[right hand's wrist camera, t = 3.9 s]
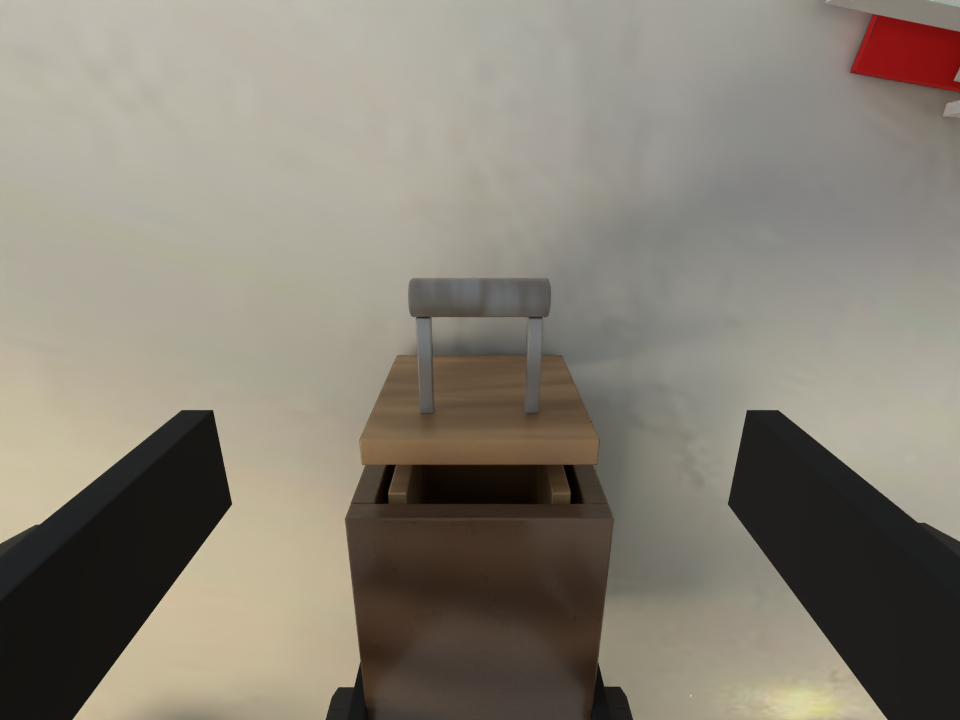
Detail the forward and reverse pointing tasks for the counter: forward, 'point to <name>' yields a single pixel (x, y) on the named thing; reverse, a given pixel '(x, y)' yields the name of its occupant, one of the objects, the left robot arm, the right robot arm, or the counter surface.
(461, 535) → the cabinet
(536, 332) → the drawer
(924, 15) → the toy
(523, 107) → the counter surface
